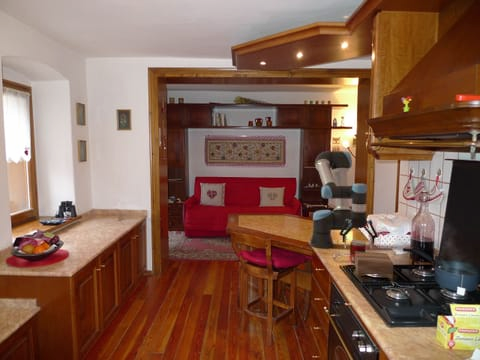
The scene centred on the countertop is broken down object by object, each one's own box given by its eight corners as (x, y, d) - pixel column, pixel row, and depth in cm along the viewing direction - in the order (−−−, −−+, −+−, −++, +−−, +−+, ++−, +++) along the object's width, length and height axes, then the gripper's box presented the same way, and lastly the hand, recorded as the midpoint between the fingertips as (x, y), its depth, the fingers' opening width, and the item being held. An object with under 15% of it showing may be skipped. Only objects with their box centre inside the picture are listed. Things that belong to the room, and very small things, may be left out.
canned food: (367, 264, 176) (367, 244, 175) (352, 264, 176) (353, 244, 175) (361, 259, 184) (362, 240, 183) (348, 259, 184) (348, 240, 183)
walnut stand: (354, 265, 174) (355, 251, 173) (386, 268, 169) (387, 253, 169) (357, 276, 158) (358, 260, 158) (392, 279, 154) (393, 263, 153)
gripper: (335, 211, 177) (335, 248, 178) (384, 213, 171) (383, 252, 172) (335, 209, 184) (334, 245, 186) (381, 211, 178) (380, 248, 179)
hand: (358, 248), depth 179 cm, fingers open, 13 cm apart
